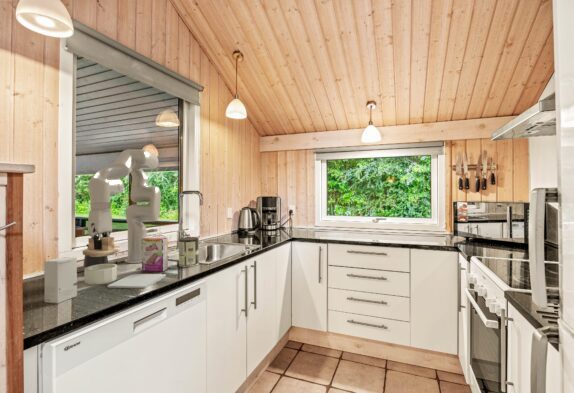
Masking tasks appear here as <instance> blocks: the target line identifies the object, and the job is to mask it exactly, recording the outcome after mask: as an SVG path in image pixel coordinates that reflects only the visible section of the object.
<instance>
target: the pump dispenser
mask: <svg viewBox="0 0 574 393" xmlns="http://www.w3.org/2000/svg"><path fill="white" fill-rule="evenodd" d="M88 248H89V243H87V244H86V249H88ZM98 264H109V258H108V256H101V257H91V256H88V255H84V258H83V266H82V267H84V269H85V268H86V267H89V266H93V265H98Z"/></svg>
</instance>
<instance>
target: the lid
mask: <svg viewBox="0 0 574 393" xmlns="http://www.w3.org/2000/svg"><path fill="white" fill-rule="evenodd" d="M101 240H102V249H101V250H97V249H94V240H93V238H92V237H90V238H88V244H89V248H88V247H87V248H88V249H87V248H85V249H83V250H82V255H83V256H85V255H88V256H91V257H101V256H107V257H108V256H111V255H113V254H114V255H115V253H119V252H120V251H121V248H120V246H116V245H115V237H113V236H110V237H102V236H101Z"/></svg>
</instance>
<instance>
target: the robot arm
mask: <svg viewBox="0 0 574 393" xmlns="http://www.w3.org/2000/svg"><path fill="white" fill-rule="evenodd" d="M159 161H160V160H159V158H158V156H157V155H156V154H155V153H153V152H151V151H149V150H147V149H144V148H143V149H141V148H137V149H134V148H131V149H130V148H129V149H128V148H127V149H124V150H123V151H122V152H121V153H120V154H119V155H118V157H117V158H116V160H115V161H114V162H113V163H112V164H109V165H107V166H105V167H103V168H101V169H100V168H99V170H97V171H96V172H95V173H94V174H93V175H92V176H91V178H90V179H89V181H88V183H87V188H88V191H89V197H90V199H89V202H90V203H89V205H90V210H89V212H88V217H87V219H88V220H87V232H88V236H89V237H90V238H93V240H94V249H97V250H101V249H102V240H101V237H111V236H110V235H111V233H112V232H113V217H112V211H111V210H112V209H111V207H112V206H111V195H120V194H121V193H123V191H124V189H125V185H124V182H123V181H122V179H123V178H125V177H127V176H129V175H130V174H131V186H130V200H131V202H133V203H143V204H131V205H129V206H127V207H126V208H125V210H124V211H125V218H126V224H127V258H125V259H124V262H125V264H142V238H144V237H148V236H147V234H148V233H147V232H148V231H147V227H146V225H145V224H144V222H146V223H147V222H156V221H158V220H159V219H160V215H161V214H160V213H161V204H162V202H161V201H162V192H161V189H160V187H159V186H155V185H149V176H148V175H147V173H146V172H145V171H144V170H155V169H157V168H158V166H159ZM144 203H147V204H144Z"/></svg>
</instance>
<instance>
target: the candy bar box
mask: <svg viewBox="0 0 574 393" xmlns="http://www.w3.org/2000/svg"><path fill="white" fill-rule="evenodd" d="M168 267H169V265H168V237H165V236H164V237H163V236H147V237H144V238H142V262H141V272H155V273H157V272H159V273H160V272H161V273H163V272H166V271H167V270H168V269H169V268H168Z"/></svg>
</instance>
